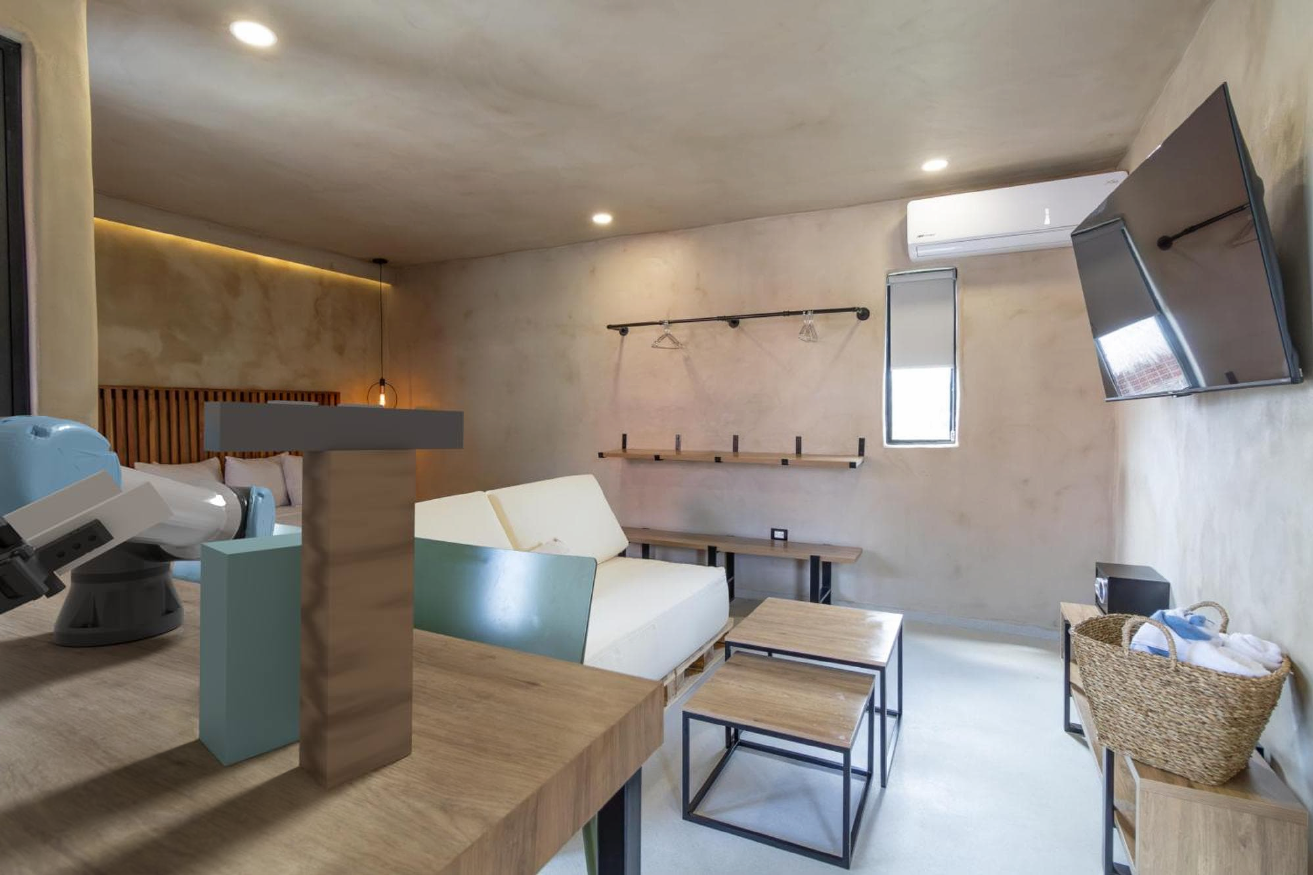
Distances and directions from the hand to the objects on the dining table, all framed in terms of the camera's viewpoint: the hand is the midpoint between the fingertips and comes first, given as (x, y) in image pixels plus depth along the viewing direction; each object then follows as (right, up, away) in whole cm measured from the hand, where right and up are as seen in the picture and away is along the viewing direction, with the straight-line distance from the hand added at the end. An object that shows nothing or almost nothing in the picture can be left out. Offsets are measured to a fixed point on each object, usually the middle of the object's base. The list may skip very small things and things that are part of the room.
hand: (136, 489), depth 46 cm
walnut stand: (+10, -27, +13) cm, 32 cm away
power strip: (+10, +3, +12) cm, 16 cm away
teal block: (-2, -27, +18) cm, 33 cm away
